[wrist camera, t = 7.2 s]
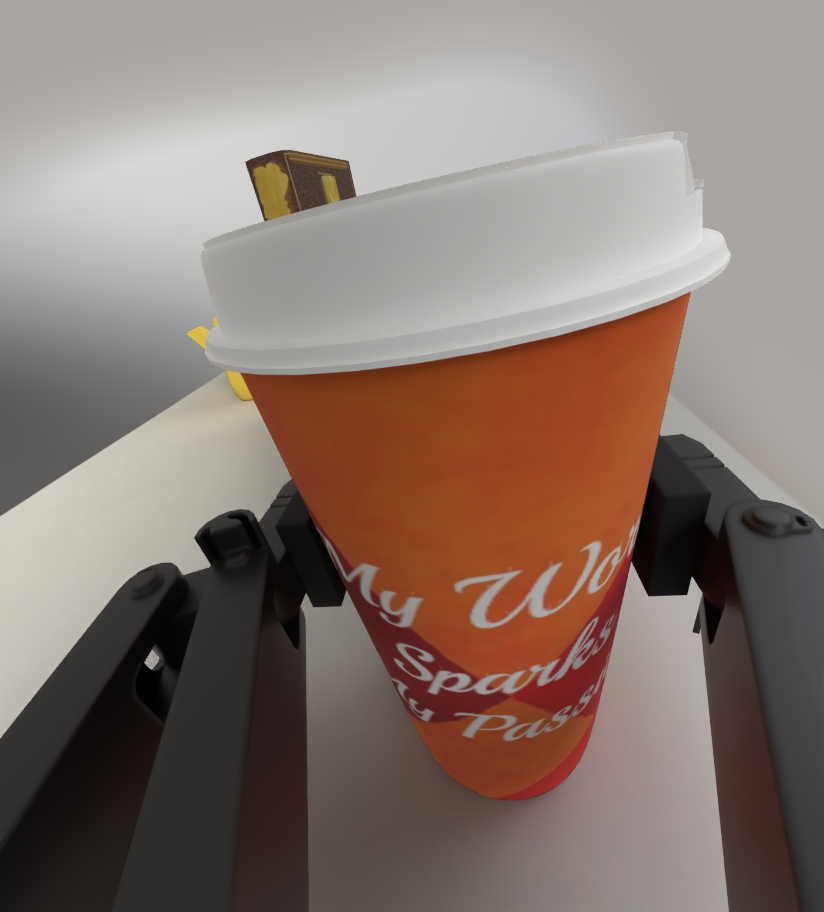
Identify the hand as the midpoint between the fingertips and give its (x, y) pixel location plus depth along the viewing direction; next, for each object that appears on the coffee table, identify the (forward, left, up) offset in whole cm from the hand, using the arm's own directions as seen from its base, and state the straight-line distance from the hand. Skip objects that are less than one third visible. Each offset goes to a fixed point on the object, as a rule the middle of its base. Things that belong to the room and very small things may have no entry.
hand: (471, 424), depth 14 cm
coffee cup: (-4, +3, -8) cm, 10 cm away
